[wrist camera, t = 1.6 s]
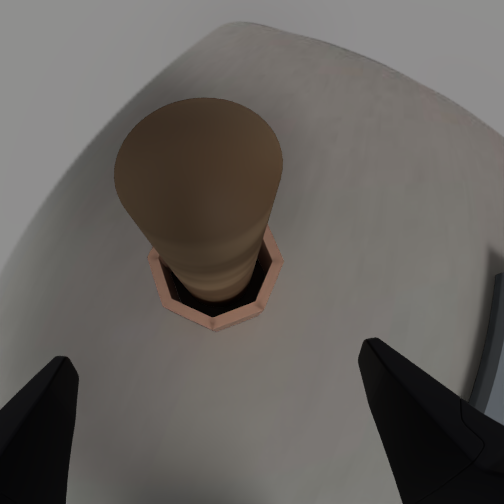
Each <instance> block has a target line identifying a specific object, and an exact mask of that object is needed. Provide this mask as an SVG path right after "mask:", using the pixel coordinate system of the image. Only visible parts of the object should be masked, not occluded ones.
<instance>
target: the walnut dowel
mask: <svg viewBox="0 0 504 504" xmlns="http://www.w3.org/2000/svg"><path fill="white" fill-rule="evenodd" d="M282 166H283V159H282V151H281V148H280V144H279V141H278V139H277V137H276V135H275V133H274V132H273V130H272V129H271V127H270V126H269V125H268V124H267V123H266V122H265V121H264V120H263V119H262V118H261V117H260V116H259V115H258V114H256V113H255V112H253V111H252V110H250V109H248V108H246V107H244V106H242V105H240V104H237V103H234V102H231V101H227V100H223V99H217V98H193V99H186V100H182V101H178V102H174V103H172V104H169V105H166V106H164V107H162V108H160V109H158V110H156V111H154V112H153V113H151V114H149V115H148V116H147V117H145V118H144V119H143V120H141V121H140V122H139V123H138V124H137V125H136V126H135V127H134V128H133V129H132V131H131V132H130V133H129V134H128V136H127V137H126V139H125V140H124V142H123V144H122V146H121V148H120V150H119V152H118V155H117V158H116V163H115V168H114V180H115V187H116V191H117V194H118V197H119V199H120V201H121V203H122V205H123V206H124V208H125V209H126V211H127V212H128V213H129V215H130V216H131V218H132V219H133V220H134V222H135V223H136V224H137V226H138V227H139V228H140V230H141V231H142V232H143V234H144V235H145V236H146V238H147V239H148V240H149V242H150V243H151V244H152V246H153V247H154V248H155V250H156V251H157V252H158V253H159V255H160V256H161V257H162V259H163V260H164V261H165V262H166V264H167V265H168V266H169V268H170V269H171V270H172V271H173V273H174V274H175V275H176V276H177V278H178V279H179V280H180V281H181V283H182V284H183V285H184V286H185V287H186V289H187V290H188V291H189V292H190V294H191V295H192V296H193V297H194V298H195V299H196V300H197V301H198V302H200V303H202V304H203V305H206V306H209V307H215V308H221V307H226V306H230V305H232V304H234V303H235V302H237V301H238V300H239V299H241V298H242V297H243V295H244V294H245V293H246V291H247V289H248V287H249V284H250V280H251V277H252V274H253V270H254V267H255V264H256V260H257V257H258V254H259V250H260V247H261V243H262V240H263V237H264V233H265V230H266V227H267V223H268V220H269V216H270V213H271V210H272V206H273V203H274V200H275V196H276V193H277V189H278V186H279V183H280V179H281V174H282Z"/></svg>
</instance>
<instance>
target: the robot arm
mask: <svg viewBox="0 0 504 504" xmlns="http://www.w3.org/2000/svg"><path fill="white" fill-rule="evenodd" d="M358 364H359V368H360V372H361V376H362V380H363V384H364V388H365V392H366V396H367V400H368V404H369V407H370V410H371V413H372V415H373V418H374V421H375V423H376V426H377V429H378V432H379V435H380V437H381V440H382V443H383V446H384V449H385V452H386V454H387V457H388V460H389V463H390V466H391V469H392V472H393V475H394V478H395V481H396V484H397V487H398V490H399V494H400V497H401V500H402V503H403V504H504V425H502V424H500V423H499V422H497V421H495V420H493V419H492V418H490V417H488V416H487V415H485V414H484V413H482V412H480V411H479V410H477V409H476V408H475V407H473V406H472V405H470V404H469V403H467V402H466V401H465V400H463V399H462V398H460V397H459V396H458V395H456V394H455V393H453V392H452V391H451V390H449V389H448V388H447V387H445V386H444V385H442V384H441V383H440V382H438V381H437V380H436V379H434V378H433V377H431V376H430V375H429V374H427V373H426V372H425V371H423V370H422V369H420V368H419V367H418V366H416V365H415V364H413V363H412V362H411V361H409V360H408V359H407V358H405V357H404V356H402V355H401V354H400V353H398V352H397V351H395V350H394V349H393V348H391V347H390V346H389V345H387V344H386V343H384V342H383V341H382V340H380V339H379V338H376V337H375V338H369V339H365V340H364V341H363V344H362V347H361V350H360V354H359V357H358ZM78 384H79V376H78V373H77V371H76V369H75V368H74V366H73V364H72V362H71V361H70V359H69V358H68V357H66V356H56V357H55V358H53V359H52V360H51V361H50V362H49V363H48V364H47V365H46V366H45V367H44V368H43V369H42V370H41V371H40V372H38V373H37V374H36V375H35V376H34V377H33V378H32V379H31V380H30V381H29V382H28V383H27V384H26V385H25V386H24V387H23V388H22V389H21V390H20V391H19V392H18V393H17V394H16V395H15V396H14V397H13V398H12V399H11V400H10V401H9V402H8V403H7V404H6V405H5V406H4V407H3V408H2V409H1V410H0V504H66V492H67V480H68V470H69V462H70V454H71V446H72V439H73V433H74V427H75V419H76V406H77V394H78Z"/></svg>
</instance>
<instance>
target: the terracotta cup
mask: <svg viewBox="0 0 504 504" xmlns="http://www.w3.org/2000/svg"><path fill="white" fill-rule="evenodd" d="M147 258H148V261H149V264H150V268H151V271H152V274H153V277H154V280H155V284H156V287H157V290H158V293H159V296H160V299H161V302H162V305H163V307H165V308H167V309H168V310H170V311H172V312H174V313H176V314H178V315H180V316H182V317H184V318H186V319H189V320H191V321H193V322H195V323H197V324H199V325H201V326H204V327H206V328H208V329H210V330H212V331H215V332H218V331H220V330H223V329H226V328H228V327H231V326H233V325H236V324H239V323H241V322H244V321H246V320H249V319H252V318H254V317H257V316H258V315H259V314H260V313H261V312H262V311H263V310H264V308H265V306H266V304H267V301H268V299H269V296H270V294H271V292H272V289H273V287H274V284H275V282H276V280H277V277H278V275H279V272H280V270H281V267H282V265H283V263H284V260H283V258H282V255H281V253H280V251H279V249H278V246H277V244H276V242H275V239H274V237H273V235H272V233H271V230H270V228H269V226H268V224H267V227H266V230H265V233H264V237H263V240H262V243H261V247H260V250H259V254H258V257H257V258H258V260H259V263H260V265H261V267H262V270H263V272H264V275H265V278H264V280H263V282H262V285H261V287H260V289H259V292H258V294H257V296H256V299H255V301H254V302H252V303H250V304H247V305H245V306H242V307H240V308H237V309H234V310H232V311H229V312H226V313H224V314H221V315H218V316H216V317H213V318H212V317H210V316H208V315H205V314H203V313H201V312H199V311H197V310H195V309H192V308H190V307H188V306H186V305H184V304H182V303H181V301H180V298H179V295H178V292H177V289H176V286H175V284H174V281H173V278H172V275H171V272H172V270H171V269H170V268H169V266H168V265H167V264H166V262H165V261H164V260H163V259H162V257H161V256H160V255H159V253H158V252H157V251H156V250H155V248H154V247H152V249H151V251H150V253H149V255H148V257H147Z"/></svg>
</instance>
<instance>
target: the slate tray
mask: <svg viewBox="0 0 504 504" xmlns="http://www.w3.org/2000/svg"><path fill="white" fill-rule="evenodd" d="M469 404H470V405H472V406H473V407H475V408H476V409H477V410H479V411H480V412H482V413H484V414H485V415H487V416H488V417H490V418H492V419H493V420H495V421H497V422H499V423H500V424H502V425H504V272H503V273H500V274H497V275H496V278H495V287H494V295H493V303H492V309H491V315H490V321H489V327H488V332H487V337H486V341H485V346H484V350H483V355H482V359H481V363H480V367H479V370H478V374H477V378H476V381H475V384H474V388H473V391H472V394H471V397H470V400H469Z"/></svg>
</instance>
